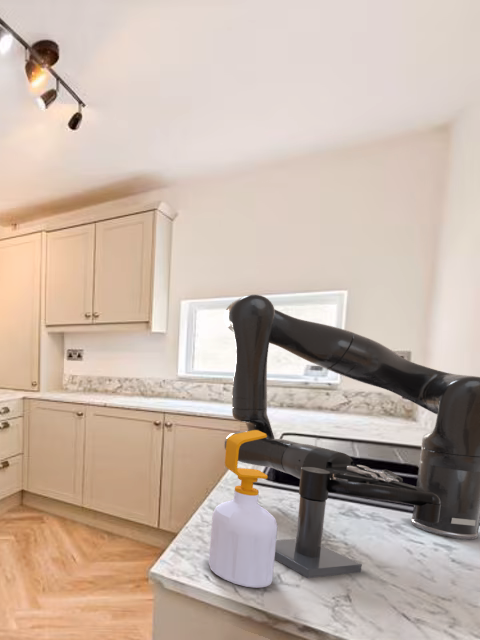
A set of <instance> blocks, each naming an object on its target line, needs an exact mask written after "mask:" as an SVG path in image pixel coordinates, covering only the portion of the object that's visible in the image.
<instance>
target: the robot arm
mask: <svg viewBox="0 0 480 640" xmlns="http://www.w3.org/2000/svg"><path fill="white" fill-rule="evenodd" d="M223 320H224V323H225V325H226V327H227V328H228V329H229V330H230V331H231V332H232V333H233V335H234V341H235V351H236V352H235V354H236V355H235V366H234V373H233V379H232V387H231V388H232V389H231V411H232V412H231V413H232V417H233V419H234V420H236V421H238V422H242V423H245V425H246V428H247V430H243V431H236V432H231V433H230V434H229V435H227V436H226V438H224V439H225V440H224V443H223V444H224V445H223V447H224V450H225V451H226V442H227V439H228V438H229V437H230V436H232V435H234V434H238V433H243V432H247V431H252V430H258V431H261V432H263V433H265V434H267V437H266V438H262V439H257V440H253V441H249V442H245V443H243V444H241V446H240V448H239V453H238V463H243V464H247V465H252V466H253V465H254V466H258V467H266V468H270V469H273V470H276V471H278V472H279V471H280V472H281V473H282V472H283V473H285V474H288V475H291V476H293V477H295V478H297V479H299V480H300V477H301V468H302V467H314V468H320V469H324V470H327V471H329V472H330V479H336V480H344V481H351V482H358V483H366V484H373V485H380V486H387V487H395V488H402V489H409V490H416V491H424V492H430V493H434V494H436V495H437V496H438V497H439V498H440V504H441V508H440V515H439V522H438V523H431V522H426V521H422V520H419V519H417V518H415V512H416V505H413V508H412V516H411V519H410V523H411V524H412V525H413V526H415V527H416V528H418V529H420V530H423V531H425V532H429V533H431V534H434V535H435V534H436V535H437V536H443V537H447V538H452V539H459V540H475V539H477V538H478V535H479V531H480V376H476V375H466V374H457V373H450V372H445V371H442V370H438V369H434V368H432V367H427V366H424V365H421V364H418V363H415V362H414V361H412V360H411V361H410V360H408V359H406V358H405V357H403V356H401V355H399V354H398V353H396V352H395V351H393V350H392V349H390V348H389V347H387V346H386V345H384V344H382V343H380V342H377V341H376V340H373V339H371V338H369V337H366V336H363V335H360V334H358V333H355V332H352V331H350V330H346V329H343V328H340V327H336V326H332V325H329V324H324V323H319V322H315V321H309V320H304V319H302V318H301V319H300V318H297V317H294V316H291V315H289V314H286V313H284V312H282V311H279V310H278V309H275V305H274V304H273V303H272V301H271V300H270V299H269V298H267V297H266V296H263V295H260V294H249V295H244V296H242V297H240V298H238V299H236V300H234V301H232V302H231V303H230V304H229V305H228V306H227V307H226V309H225V311H224V314H223ZM270 344H271V345H273V346H274V345H275V346H277V347H278V348H281V349H284V350H285V351H287V352H289V353H291V354H293V355H295V356H297V357H299V358H301V359H303V360H304V361H307V362H309V363H312V364H314V365H315V366H318V367H321V368H322V369H325V370H328V371H330V372H333V373H334V374H337V375H339V376H343V377H346V378H349V379H351V380H354V381H357V382H360V383H363V384H367V385H370V386H374V387H377V388H380V389H383V390H386V391H389V392H390V393H393V394H395V395H398V396H400V397H402V398H404V399H406V400H408V401H409V402H411V403H413V404H415V405H417V406H419V407H421V408H423V409H425V410H426V411H429V412H430V413H433V414H435V415H436V420H435V424H434V427H433V429H432V430H431V431H430V432H428V433H425V434H424V435H423V436H422V439H421V446H420V455H419V462H418V470H417V479H416V486H415V485H412V484H408V483H405V482H404V481H403V478H402V477H401V476H399V475H398V474H396V473H394V472H393V471H391V470H388V469H382V470H381V471H379V470H376V469H371V468H370V467H369V466H366V465H362V464H355V462H354V460H353V459H352V458H351V456H349V455H348V454H347V453H344V452H341V451H337V450H333V449H329V448H324V447H321V446H317V445H313V444H307V443H300V442H296V441H291V440H289V439H283V438H275V435H274V432H273V428H272V425H271V422H270V419H269V416H268V355H269V347H270V346H269V345H270Z"/></svg>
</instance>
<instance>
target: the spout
mask: <svg viewBox="0 0 480 640" xmlns="http://www.w3.org/2000/svg"><path fill="white" fill-rule="evenodd" d="M329 493H331V494H337V495H344V496H351V497H356V498H357V497H358V498H365V499H370V500H376V501H377V500H378V501H384V502H391V503H395V504H396V503H397V504H402V505H403V504H405V505H410V506H414V505H416V512H415V518H417V519H419V520H422V521H426V522H431V523H438V522H439V515H440V508H441V504H440V498H439V497H438V496H437V495H436V494H434V493H430V492H424V491H416V490H409V489H402V488H395V487H387V486H380V485H373V484H366V483H358V482H351V481H344V480H336V479H330V472H329V471H327V470H324V469H320V468H314V467H302V468H301V477H300V479H299V488H298V495H299V496H300V495H301V496H303V497H306V498H309V499H314V500H326V501H327V500H328V499H329Z"/></svg>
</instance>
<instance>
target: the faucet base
mask: <svg viewBox="0 0 480 640" xmlns="http://www.w3.org/2000/svg"><path fill="white" fill-rule="evenodd" d="M326 505H327V500H314V499H309V498H306V497H303V496H301V495H300V494H299V501H298V513H297V522H296V523H297V524H296V532H295V538H287V539H276V548H275V558H274V561H275V560H276V561H277V562H279V563H281V564H282V565H284V566H286V567H288V568H289V569H291V570H293V571H295V572H296V573H299V574H300V575H302V576H304V577H305V578H307V579H311V578H312V579H313V578H322V577H330V576H331V577H332V576H340V575H351V574H358V573H362V563H360V562H358V561H355V560H353V559H351V558H349V557H347V556H345V555H343V554H341V553H339V552H337V551H335V550H332V549H331V548H328V547H326V546H324V545H322V543H323V541H322V540H323V533H324V532H323V531H324V522H325V514H326Z"/></svg>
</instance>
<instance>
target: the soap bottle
mask: <svg viewBox="0 0 480 640" xmlns="http://www.w3.org/2000/svg"><path fill="white" fill-rule="evenodd" d="M246 431H247V432H243V433H238V434H234V435H232V436H230V437H229V438H228V439H227V442H226V450H225V455H224V457H225V458H224V466H225V467H226V469H228V470H229V471H230V472H232V473H233V474H235V475H236V476H237V479H238V480H240V485H235V486H234V492H233V498H232V499H231V500H227V501H223V502H221V503H219V504H218V505H217V506H215V508H214V510H213V512H212V518H211V527H210V528H211V530H210V541H209V555H208V565H209V568H210V570H211V571H212V572H213V574H215V575H216V576H218V577H220V578H221V579H222V580H224V581H227V582H229V583H231V584H234V585H238V586H242V587H245V588H254V589H258V588H267V587H268V586H270V585H271V584H272V583H273V580H274V579H273V578H274V568H275V559H274V558H275V548H276V540H277V535H278V527H279V526H278V523H277V520H276V518H275V516H274V515H272V513H270V512H269V511H268V510H267V509H266V508H264V507H262V506H261V505H260V504H259V490H258V489H257V488H255V487H254V483H257V482H258V479H262V480H263V479H264V480H266V479H268V477H269V475H268V474H266V473H264V472H263V471H261V470H259V469H255V468H246V467H245V468H244V467H243V468H242V467H238V465H239V464H238V463H239V461H238V453H239V448H240V446H241V444H243V443H245V442H249V441H253V440H257V439H262V438H266V437H267V434H265V433H263V432H261V431H258V430H252V431H248V430H246Z"/></svg>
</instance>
